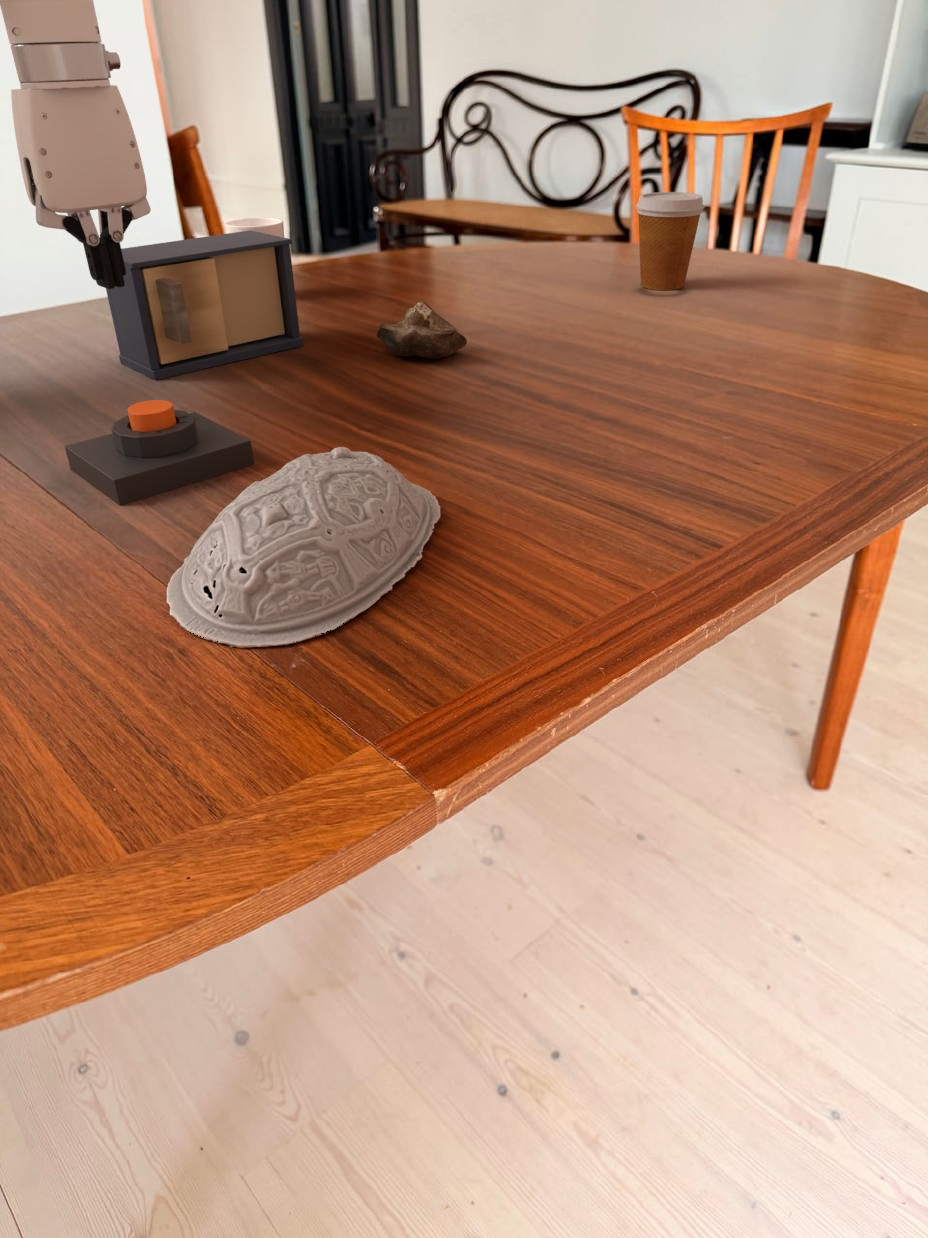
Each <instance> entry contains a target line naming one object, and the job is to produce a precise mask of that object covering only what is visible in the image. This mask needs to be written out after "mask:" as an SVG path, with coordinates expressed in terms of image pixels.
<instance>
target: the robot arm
mask: <svg viewBox="0 0 928 1238" xmlns="http://www.w3.org/2000/svg"><path fill="white" fill-rule="evenodd" d="M0 10H1V14H2V18H3V22H4V26H5V30H6V34H7V38H8V43H9V45H10V51H11V53H12V54H11V55H12V58H13V62H14V66H15V70H16V73H17V77H18V82H19V85H20V88H15V89H11V90H10V96H11V98H10V99H11V110H12V119H13V126H14V128H13V129H14V135H15V140H16V147H17V153H18V158H19V159H18V160H19V164H20V168H21V174H22V179H23V183H24V188H25V191H26V194H27V197H28V200H29V202H30V203H31V205H32V206H34V207H35V221H36V223H37V225H38V226H40V227H44V228H48V229H56V230H64V231H66V232H67V233H68V234H70V235H71V236H72V237H74V238H75V239H76V240H77V242H79V243H81V244H82V245H83V248H84V254H85V258H86V263H87V266H88V271H89V274H90V277H91V279H92V280H94V281H96V282H95V283H96V285H97V286H99V287H102V288H104V289H106V288H107V289H112V288H114V287H115V286H117V287H124V286H125V282H124V278H123V276H124V275H126V269H125V265H124V260H123V255H122V251H121V249H122V247H121V243H122V242H123V241H124V235H125V233H126V231H127V229H128V228H129V226H130V225H131V223H132V221H135V220H138V219H140V218H142V217H144V216H147V215H149V214H150V213H151V209H152V208H151V206H150V203H149V201H148V198H147V195H148V187H147V179H146V174H145V170H144V169H145V168H144V165H143V161H142V157H141V153H140V149H139V146H138V142H137V138H136V135H135V131H134V128H133V125H132V122H131V119H130V116H129V113H128V110H127V107H126V105H125V102H124V99H123V97H122V94H121V91H120V90H119V89H120V88H119V87H118V85H113V84H112V85H111V82H110V79H111V78H112V75H111V72H113V70H120V69H121V66H122V65H121V58H120V56H119V54H118V52H117V51H115V52H114V51H110V50H106V45H105V44H104V43H102V38H101V37H102V36H101V32H100V28H99V23H98V17H97V13H96V9H95V3H94V0H0ZM96 210H97V216H98V227H99V232H98V229H97V227H96V225H95V222H94V219H93V217H92V213H91V211H96Z"/></svg>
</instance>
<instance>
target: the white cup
mask: <svg viewBox="0 0 928 1238" xmlns="http://www.w3.org/2000/svg"><path fill="white" fill-rule="evenodd" d="M225 229H226V234H228V233H235V232H242V231H249V230H251V231H256V232H261V233H265V234H270V235H274V236H279V237H283V238H285V228H284V220H283V219H280V218H275V217H247V218H239V219H233V220H230V221H227V222H225Z"/></svg>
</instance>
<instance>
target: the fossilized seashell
mask: <svg viewBox="0 0 928 1238" xmlns="http://www.w3.org/2000/svg"><path fill="white" fill-rule="evenodd" d="M378 327H379V328H378V330H377V333H376V337H377V338H378V339H379V340H381V341H382V343H383V345H384V346H385V347H386V349H387V351H388V350H389V351H390V352H391V353H393V354H394V355H395V356H400V357H407V358H408V357H413V356H418V357H422V358H425V359H426V358H427V359H429V360H430V359H433V360H438V359H439V360H440V359H441V358H447V357H450V356H452V355H454V353H457V352H458V351H459V350H461V349H463V348H464V347H466V345H467V344H468V340H467V338H466V337H465V336H464V334H462V333H461V331H460V330H458V329H457V328H456V327H455V326H454V324H453V325H452V323H450V322H449V321H448V320H446V318H444V317H443V316H441V315H440V314H438V313H436V312H435V310H434V309H433V308H432V307H431V306H430V305H429V304H428V303H427V302H426V301H423V300H422V301H418V302H417V303H416V304H415V305H413V307H409V308H408V309H406V311H405V316H404V318H403V319H401V320H400V321H397V322H396V323H394V324H393V323H392V324H390V323H383V322H380V323H379V324H378Z"/></svg>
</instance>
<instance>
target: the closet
mask: <svg viewBox="0 0 928 1238" xmlns="http://www.w3.org/2000/svg"><path fill="white" fill-rule="evenodd" d="M292 244H293V242H292V238H288V237H284V238H283V237H279V236H274V235H270V234H265V233H261V232H256V231H251V230H249V231H242V232H235V233H228V234H227V233H222V234H215V235H208V236H200V237H193V238H185V239H181V240H173V241H166V242H159V243H152V244H145V245H138V246H129V247H123V248H121V251H122V255H123V260H124V265H125V269H126V275H124V276H123V278H124V282H125V286H124V287H117V286H115V287H114V288H112V289H107V288H105V292H106V295H107V300H108V305H109V309H110V314H111V318H112V319H111V320H112V323H113V328H114V332H115V336H116V340H117V345H118V351H119V354H118V357H119V363H120V364H122V365H123V366H125V367H127V368H129V369H131V370H134V371H136V372H138V373H139V374H142V375H144V376H146V377H148V378H149V379H152V380H154V381H158V380H162V379H167V378H171V377H175V376H179V375H183V374H184V375H185V374H188V373H193V372H197V371H202V370H205V369H210V368H214V367H218V366H224V365H226V364H231V363H235V362H241V361H244V360H249V359H253V358H257V357H262V356H265V355H271V354H275V353H279V352H283V351H287V350H293V349H295V348H300V347H303V346H304V341H303V337H301V332H300V323H299V315H298V306H297V298H296V297H297V296H296V288H295V281H294V271H293V270H294V269H293V262H292V252H291V245H292ZM208 257H212V258H214V260H215V266H216V273H217V279H218V286H219V292H220V299H221V305H222V311H223V318H224V324H225V331H226V337H227V343H228V350H225V351H221V352H216V353H212V354H207V355H203V356H198V357H194V358H189V359H185V360H180V361H176V362H171V363H167V364H159V362H158V357H157V352H156V347H155V342H154V337H153V331H152V326H151V321H150V316H149V311H148V306H147V301H146V296H145V291H144V286H143V281H142V276H141V271H140V268H145V267H151V266H157V265H164V264H170V263H176V262H183V261H189V260H195V259H202V258H208Z"/></svg>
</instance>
